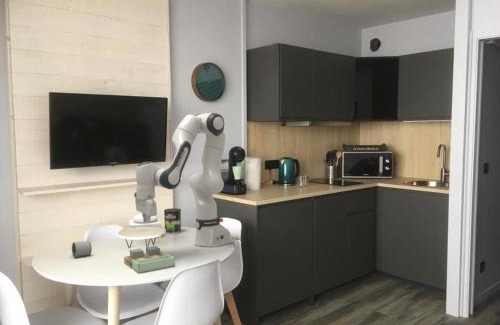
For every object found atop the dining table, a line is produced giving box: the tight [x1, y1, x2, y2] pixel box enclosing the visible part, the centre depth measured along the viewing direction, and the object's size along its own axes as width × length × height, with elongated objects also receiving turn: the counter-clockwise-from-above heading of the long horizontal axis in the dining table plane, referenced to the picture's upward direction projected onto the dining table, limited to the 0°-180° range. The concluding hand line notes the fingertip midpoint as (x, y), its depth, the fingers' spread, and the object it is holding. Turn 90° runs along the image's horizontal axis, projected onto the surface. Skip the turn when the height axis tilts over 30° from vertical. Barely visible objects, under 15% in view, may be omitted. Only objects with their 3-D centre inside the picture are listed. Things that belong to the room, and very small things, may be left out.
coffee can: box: [163, 207, 182, 235], centre depth 267 cm, size 10×10×14 cm
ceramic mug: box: [71, 240, 92, 258], centre depth 219 cm, size 11×8×8 cm
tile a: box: [145, 245, 161, 256], centre depth 208 cm, size 5×5×3 cm
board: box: [123, 250, 167, 269], centre depth 205 cm, size 18×10×3 cm, turn 123°
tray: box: [131, 253, 176, 274], centre depth 197 cm, size 17×9×4 cm, turn 123°
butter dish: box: [128, 212, 163, 239], centre depth 259 cm, size 18×18×16 cm
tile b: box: [129, 248, 145, 259], centre depth 204 cm, size 5×5×3 cm
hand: (146, 222), depth 213 cm, fingers open, 2 cm apart
